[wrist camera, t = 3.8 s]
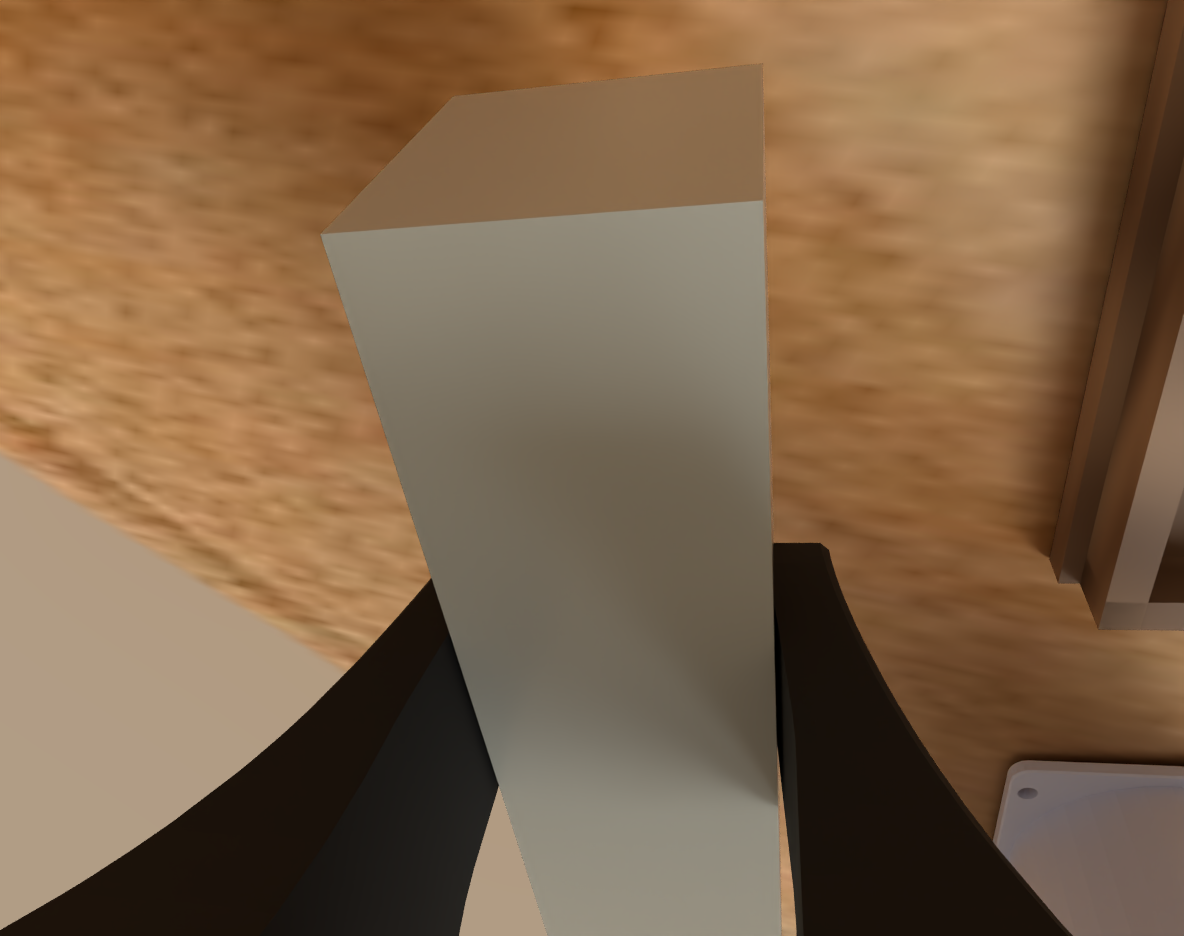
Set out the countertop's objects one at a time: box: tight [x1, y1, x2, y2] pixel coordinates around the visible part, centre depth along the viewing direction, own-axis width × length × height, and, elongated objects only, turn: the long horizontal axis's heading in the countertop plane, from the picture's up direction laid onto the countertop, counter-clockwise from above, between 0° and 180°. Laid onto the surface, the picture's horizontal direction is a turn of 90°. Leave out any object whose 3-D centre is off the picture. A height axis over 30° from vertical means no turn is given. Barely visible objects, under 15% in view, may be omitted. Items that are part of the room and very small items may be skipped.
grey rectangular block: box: [320, 63, 782, 936], centre depth 12 cm, size 12×4×4 cm, turn 8°
